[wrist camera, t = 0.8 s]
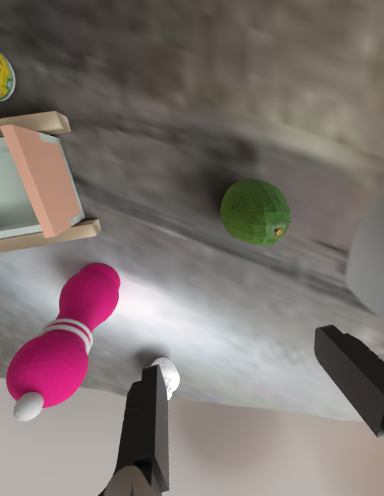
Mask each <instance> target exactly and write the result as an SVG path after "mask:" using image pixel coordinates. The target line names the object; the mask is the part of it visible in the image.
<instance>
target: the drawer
mask: <svg viewBox="0 0 384 496" xmlns="http://www.w3.org/2000/svg"><path fill="white" fill-rule="evenodd" d="M0 128H1V131H2V133H3V136H4V137H1V138H0V238H5V237H11V236H17V235H23V234H29V233H35V232H40V231H43V234H44V236H45V238H49V237H55V236H57V235H58V234H60V233H62V232H63V231H65V230H66V229H68V228H70V227H71V226H73V225H74V224H76V223H78V222H79V221H81V220H82V219H84V218H85V215H84V212H83V209H82V206H81V203H80V200H79V197H78V194H77V191H76V188H75V185H74V182H73V179H72V176H71V173H70V170H69V167H68V163H67V160H66V157H65V154H64V151H63V148H62V145H61V142H60V139H59V138H57V137H53V136H50V135H46V134H43V133H40V132H36V131H33V130H29V129H26V128H22V127H19V126H16V125H12V124H11V125H4V126H0Z"/></svg>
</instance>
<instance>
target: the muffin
mask: <svg viewBox="0 0 384 496" xmlns="http://www.w3.org/2000/svg"><path fill="white" fill-rule="evenodd" d="M156 364H159V365H160V368H161V372H162V375H163V378H164V381H165V384H166V389H167V399H168V400H169V399H170V397H171V396H172V392H173V391H174V390H175V389H176V388H177V387H178V384H179V380H180V378H179V374H178V372H177V370H176V368H175V366H174V365H173V364H172V362H171V361H170V360H169V359H168V358H165V357H160V358H157V359H156V360H155V361H154V362H153V363H152V365H156ZM152 365H151V366H152Z"/></svg>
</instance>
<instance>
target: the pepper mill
mask: <svg viewBox="0 0 384 496" xmlns="http://www.w3.org/2000/svg"><path fill="white" fill-rule="evenodd" d="M119 287H120V278H119V275H118V274H117V272H116V271H115V270H114V269H113V268H111V267H110V266H107V265H105V264H99V263H96V264H90V265H88V266H86V267H84V268H83V269H82V270H81V271H80V272H79V273H78V274H76V275H74V276H73V277H71V278H70V279H69V280H68V281H67V282H66V284H65V285H64V287H63V289H62V291H61V295H60V299H59V309H60V313H59V315H58V317H57V318H56V320H54V321H51V322H49V323H48V324H47V325H46V326H45V327H44V328H43V329H42V331H41V332H40V333H39V334H38V336H37V337H36V338H34V339H32V340H30V341H29V342H27V343H26V344H25V345H24V346H22V347H21V349H20V350H19V351H18V352H17V353H16V355H15V356H14V358H13V359H12V361H11V363H10V365H9V367H8V371H7V377H6V381H7V382H6V383H7V388H8V391H9V393H10V394H11V395H12V397H13V398H14V399H15V400H16V401H17V403H16V405H15V407H14V416H15V418H16V419H17V420H19V421H29V420H31V419H32V418H34V417H35V416H37V415H38V414H39V412H40V411H41V409H42V408H46V407H51V406H55V405H57V404H59V403H61V402H63V401H65V400H66V399H68V398H69V397H70V396H71V395H72V394H74V392H75V391H76V390H77V389H78V388H79V386H80V385H81V383H82V382H83V380H84V377H85V375H86V373H87V369H88V353H89V350H90V348H91V346H92V342H93V337H92V334H91V333H92V331H93V330H94V328H95V327H97V326H98V325H99V324H101V323H102V322H103V321H105V320H106V319H107V318H108V317H109V316H110V315H111V314H112V312H113V311H114V309H115V307H116V305H117V303H118V299H119V293H118V290H119Z"/></svg>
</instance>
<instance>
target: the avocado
mask: <svg viewBox="0 0 384 496" xmlns="http://www.w3.org/2000/svg"><path fill="white" fill-rule="evenodd" d="M220 214H221V219H222V223H223V224H224V226H225V228H226V230H227V231H228V232H229V233H230V234H231V235H232V236H233V237H234V238H237V239H239V240H241V241H243V242H247V243H251V244H256V245H272V244H273V243H275V242H277V241H278V240H279V239H280V238H281V237H282V236H283V235H284V234H285V233H286V231H287V229H288V227H289V225H290V222H291V219H290V208H289V206H288V204H287V202H286V200H285V197H284V196H283V194H282V192H281V191H280V190H279V189H278V188H276V187H275V186H273V185H271V184H269V183H267V182H264V181H260V180H256V179H244V180H240V181H238V182H237V183H235V184H234V185H232V186H231V187H230V188H229V189H228V190H227V191H226V193H225V195H224V197H223V199H222V202H221V209H220Z"/></svg>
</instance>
